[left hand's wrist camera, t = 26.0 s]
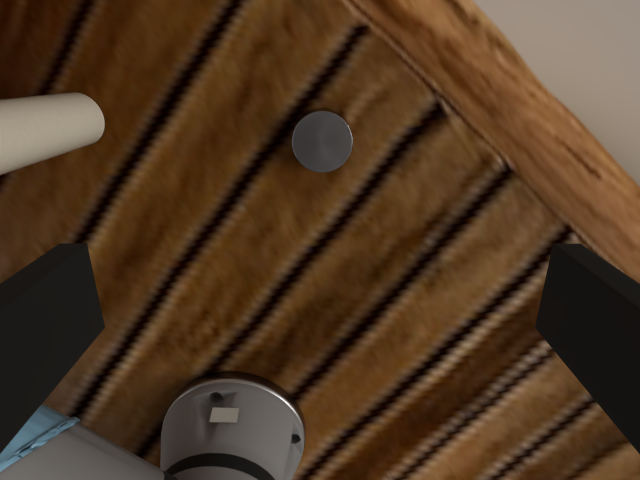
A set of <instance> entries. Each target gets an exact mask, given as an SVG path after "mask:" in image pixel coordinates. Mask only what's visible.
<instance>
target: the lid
mask: <svg viewBox="0 0 640 480" xmlns="http://www.w3.org/2000/svg"><path fill="white" fill-rule="evenodd" d="M352 144H353V139H352V133H351V130H350V128H349V126H348V124H347V122H346V121H345V119H344V118H343V117H342V116H341V115H340V114H338V113H337V112H335V111H333V110H330V109H325V108H320V109H314V110H312V111H309V112H308V113H306V114H305V115H304V116H302V117H301V119H300V120H299V121H298V123H297V125H296V127H295V130H294V132H293V137H292V147H293V151H294V154H295V156H296V158H297V159H298V161H299V162H300V163H301V164H302V165H303V166H304V167H306V168H307V169H309V170H312V171H315V172H330V171H333V170H335V169H337V168H339V167H340V166H341V165H343V164H344V163H345V161H346V160H347V159H348V157H349V155H350V153H351V150H352Z"/></svg>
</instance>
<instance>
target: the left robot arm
mask: <svg viewBox="0 0 640 480" xmlns="http://www.w3.org/2000/svg"><path fill="white" fill-rule="evenodd" d="M104 328H105V326H104V321H103V317H102V312H101V307H100V303H99V298H98V293H97V289H96V284H95V279H94V275H93V270H92V266H91V261H90V256H89V252H88V247H87V244H58V245H57V246H56V247H54V248H53V249H51V250H50V251H48V252H47V253H45V254H44V255H42V256H41V257H39V258H38V259H36V260H35V261H33V262H32V263H31V264H29V265H28V266H26V267H25V268H23V269H22V270H20V271H19V272H17V273H16V274H14V275H13V276H11V277H10V278H8V279H7V280H6V281H4V282H3V283H1V284H0V480H292V478H293V476H294V473H295V471H296V469H297V467H298V464H299V462H300V460H301V457H302V453H303V450H304V445H305V422H304V418H303V414H302V412H301V410H300V408H299V406H298V405H297V403H296V402H295V400H294V399H293V398H292V397H291V396H290V395H289V394H288V393H287V392H286V391H285V390H283V389H282V388H281V387H279V386H278V385H276V384H274V383H272V382H270V381H268V380H266V379H264V378H261V377H258V376H255V375H250V374H245V373H235V372H227V373H217V374H212V375H208V376H205V377H202V378H199V379H197V380H195V381H193V382H191V383H190V384H188V385H187V386H185V387H184V388H183V389H182V390H181V391H180V392H179V393H178V394H177V395H176V396H175V398H174V399H173V401H172V402H171V404H170V407H169V409H168V411H167V413H166V416H165V418H164V421H163V426H162V432H161V462H160V468H159V467H157V466H155V465H153V464H151V463H149V462H147V461H146V460H144V459H142V458H140V457H138V456H136V455H135V454H133V453H131V452H129V451H128V450H126V449H124V448H122V447H121V446H119V445H117V444H115V443H114V442H112V441H110V440H108V439H107V438H105V437H103V436H101V435H100V434H98V433H96V432H94V431H93V430H91V429H89V428H87V427H86V426H84V425H82V424H80V423H79V421H80V419H78V418H77V417H72V418H70V417H68V416H66V415H64V414H62V413H60V412H58V411H56V410H54V409H52V408H50V407H47V406H45V405H43V404H42V403H43V402H44V401H45V399H46V398H47V397H48V396H49V394H50V393H51V392H52V391H53V390H54V388H55V387H56V386H57V385H58V384H59V382H60V381H61V380H62V379H63V377H64V376H65V375H66V374H67V373H68V371H69V370H70V369H71V368H72V367H73V365H74V364H75V363H76V362H77V361H78V359H79V358H80V357H81V356H82V354H83V353H84V352H85V351H86V350H87V348H88V347H89V346H90V345H91V344H92V342H93V341H94V340H95V339H96V338H97V336H98V335H99V334H100V333H101V331H102V330H103V329H104ZM535 328H536V329H537V330H538V331H539V333H540V334H541V335H542V336H543V338H544V339H545V340H546V341H547V342H548V344H549V345H550V346H551V347H552V348H553V350H554V351H555V352H556V353H557V354H558V356H559V357H560V358H561V359H562V361H563V362H564V363H565V364H566V365H567V367H568V368H569V369H570V370H571V371H572V373H573V374H574V375H575V376H576V377H577V379H578V380H579V381H580V382H581V384H582V385H583V386H584V387H585V388H586V390H587V391H588V392H589V393H590V394H591V396H592V397H593V398H594V399H595V401H596V402H597V403H598V404H599V405H600V407H601V408H602V409H603V410H604V411H605V413H606V414H607V415H608V416H609V417H610V419H611V420H612V421H613V422H614V424H615V425H616V426H617V427H618V428H619V430H620V431H621V432H622V433H623V434H624V436H625V437H626V438H627V439H628V440H629V442H630V443H631V444H632V445H633V447H634V448H635V449H636V450H637V451H638V453H639V454H640V284H639V283H637V282H636V281H634V280H633V279H632V278H630V277H629V276H627V275H626V274H624V273H623V272H621V271H620V270H618V269H617V268H615V267H614V266H612V265H611V264H609V263H608V262H607V261H605V260H604V259H602V258H601V257H599V256H598V255H596V254H595V253H593V252H592V251H590V250H589V249H587V248H586V247H584V246H583V245H582V244H553V247H552V252H551V256H550V261H549V266H548V270H547V275H546V279H545V284H544V289H543V293H542V298H541V303H540V307H539V312H538V317H537V321H536V326H535Z"/></svg>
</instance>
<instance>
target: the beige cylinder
mask: <svg viewBox="0 0 640 480" xmlns="http://www.w3.org/2000/svg"><path fill="white" fill-rule="evenodd" d="M104 127H105V121H104V116H103V113H102V111H101V109H100V108H99V106H98V105H97V104H96V103H95V102H94V101H93V100H92V99H91V98H89V97H88V96H86V95H84V94H81V93H77V92H68V93H58V94H48V95H39V96H29V97H19V98H9V99H0V175H3V174H6V173H9V172H12V171H15V170H18V169H21V168H24V167H26V166H29V165H32V164H35V163H38V162H41V161H44V160H47V159H50V158H53V157H56V156H59V155H62V154H65V153H68V152H71V151H74V150H76V149H79V148H82V147H85V146H88V145H91V144H93V143H95V142H97V141H98V140H99V139H100V138H101V136H102V134H103V132H104Z"/></svg>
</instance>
